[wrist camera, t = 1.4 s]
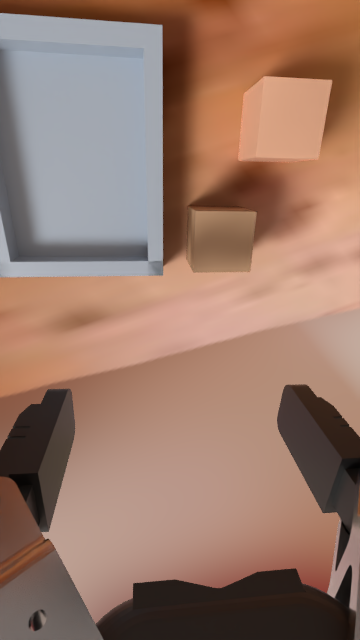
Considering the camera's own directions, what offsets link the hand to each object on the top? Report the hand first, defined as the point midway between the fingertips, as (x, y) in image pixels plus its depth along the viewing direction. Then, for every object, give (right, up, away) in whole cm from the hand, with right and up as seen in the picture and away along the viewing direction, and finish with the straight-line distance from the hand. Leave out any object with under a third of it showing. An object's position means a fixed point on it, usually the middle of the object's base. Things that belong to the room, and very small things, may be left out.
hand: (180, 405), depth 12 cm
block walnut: (+3, +11, +16) cm, 19 cm away
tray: (-8, +15, +12) cm, 21 cm away
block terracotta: (+7, +18, +13) cm, 23 cm away
